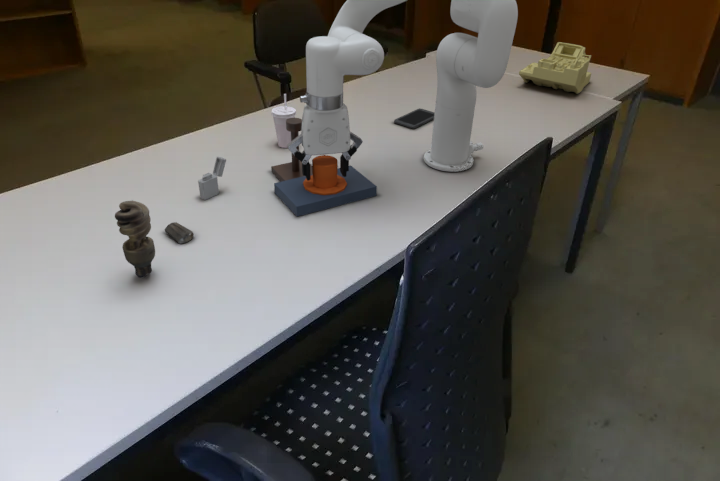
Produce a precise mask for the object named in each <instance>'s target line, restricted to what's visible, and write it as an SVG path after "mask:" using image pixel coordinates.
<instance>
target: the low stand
mask: <svg viewBox="0 0 720 481" xmlns="http://www.w3.org/2000/svg"><path fill="white" fill-rule="evenodd" d="M312 175H313V174H312ZM337 175H339V176H341V177H343V178H344V179H345V181H346V183H347V186H346V188H345V189H344V190H343V191H341V192H339V193H337V194H332V195H319V194H313V193H311V192H309V191H307V190H305V188H304V185H303V182H304V180H305V179H306V176H303V177H299V178H294V179H290V180H286V181H278V182H274V183H273V186H274V188H273V189H274V194H275V195H276V196H277V197H278V198H279V199H280V200H281V201H282V202H283V204H284V205H286V207H287V208H288V209H289V210H290V211H291V213H293V214H294V215H295V216H296V217H300V216H304V215H309V214H313V213H316V212H321V211H325V210H327V209H332V208H335V207H339V206H342V205H347V204H350V203H354V202H355V203H356V202H357V201H358V202H359V201H362V200H366V199H370V198H373V197H376V196H377V191H378V187H377V185H376V184H375V183H374V182H372V181H371V180H370V179H368V178H367V177H366V176H365V175H364V174H362V173H361V172H360V171H359V170H357V169H356V168H355V167H353V165H349V171H347V173H346V177H344V176H343V175H342V174H341V172H340V167H338V172H337ZM310 176H311V175H310Z"/></svg>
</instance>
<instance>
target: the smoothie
mask: <svg viewBox="0 0 720 481" xmlns="http://www.w3.org/2000/svg"><path fill="white" fill-rule="evenodd" d="M283 100H284V101H283V102H284V105H279V106H275V107H273V108H272V109H271V116H272V118H273V123H274V129H275V135H276V139H277V145H278V147H279V148H283V149H288V147H287V145H288V144H289V143H290V142H291V132H290V131H287V130H286V120H287V119H289V118H296V115H297V110H296V108H295V107H293V106H288V105H287V93H283Z"/></svg>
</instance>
